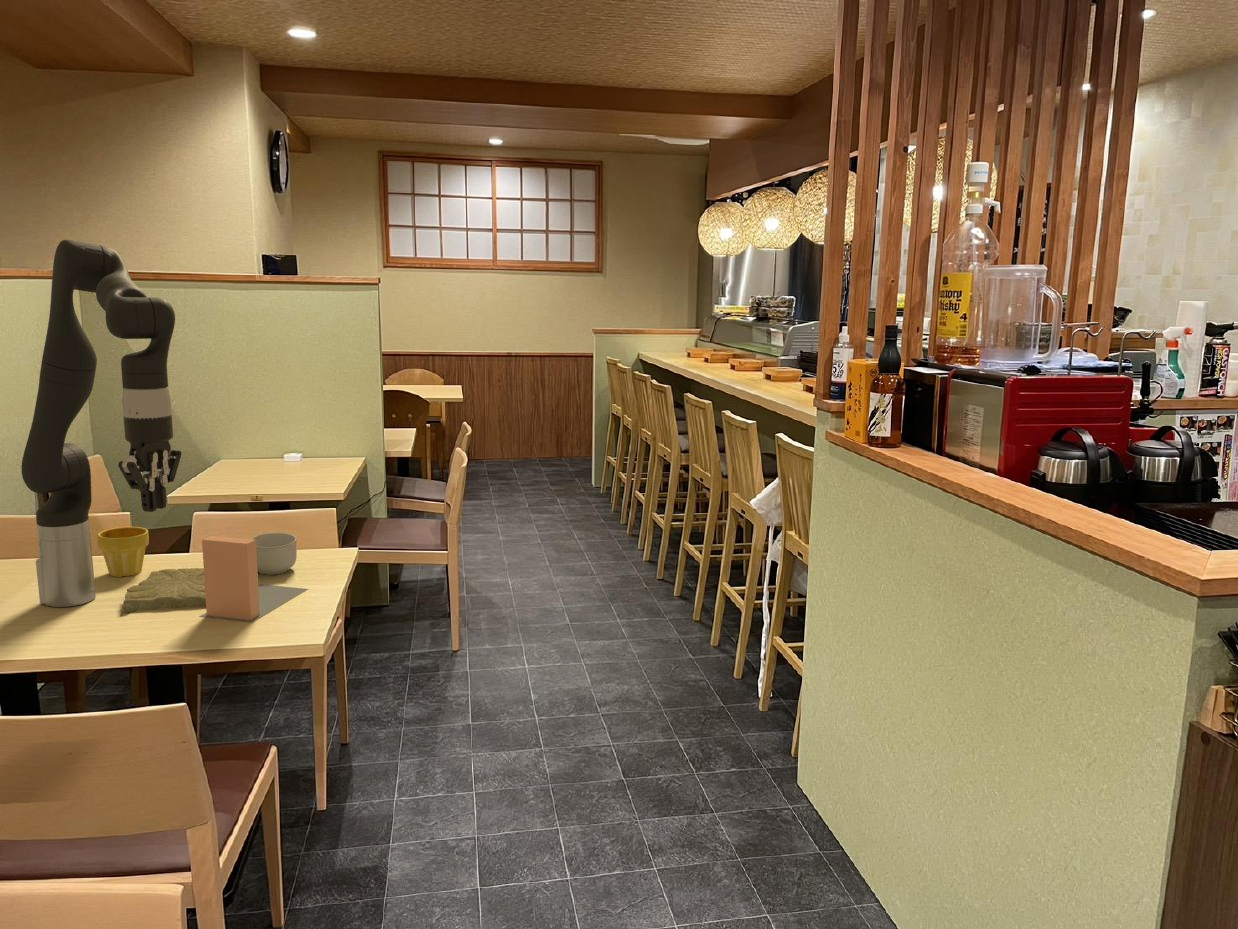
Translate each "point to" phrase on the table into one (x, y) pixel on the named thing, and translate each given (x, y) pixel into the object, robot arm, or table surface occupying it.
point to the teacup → (275, 552)
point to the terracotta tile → (231, 577)
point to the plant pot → (123, 549)
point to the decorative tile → (167, 590)
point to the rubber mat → (268, 600)
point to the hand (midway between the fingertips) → (154, 509)
